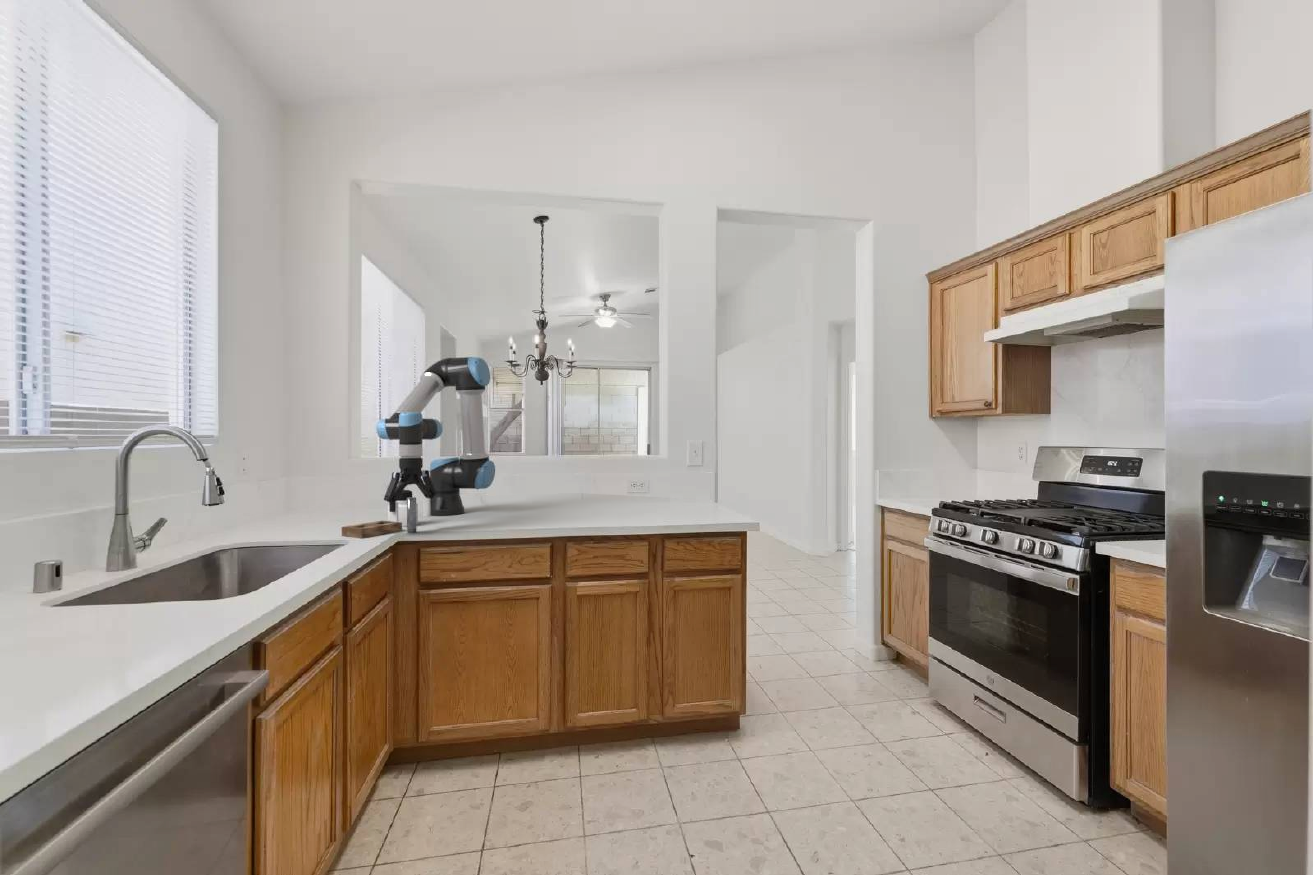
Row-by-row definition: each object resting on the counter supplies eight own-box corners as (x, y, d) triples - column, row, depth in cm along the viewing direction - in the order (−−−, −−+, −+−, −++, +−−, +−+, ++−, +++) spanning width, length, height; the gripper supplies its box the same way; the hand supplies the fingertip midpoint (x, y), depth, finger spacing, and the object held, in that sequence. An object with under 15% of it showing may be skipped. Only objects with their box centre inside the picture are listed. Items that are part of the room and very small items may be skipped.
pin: (412, 531, 217) (411, 497, 217) (418, 532, 215) (418, 497, 215) (405, 533, 214) (404, 498, 214) (411, 533, 213) (410, 498, 213)
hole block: (382, 528, 223) (382, 520, 223) (402, 530, 218) (401, 522, 218) (341, 535, 209) (341, 527, 209) (361, 538, 204) (361, 529, 204)
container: (418, 523, 234) (417, 489, 234) (408, 527, 227) (407, 491, 227) (398, 523, 235) (398, 489, 235) (387, 526, 228) (387, 491, 227)
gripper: (431, 455, 227) (431, 514, 227) (372, 458, 205) (372, 523, 205) (446, 456, 224) (446, 515, 224) (387, 458, 202) (388, 524, 202)
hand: (411, 519), depth 214 cm, fingers open, 13 cm apart
